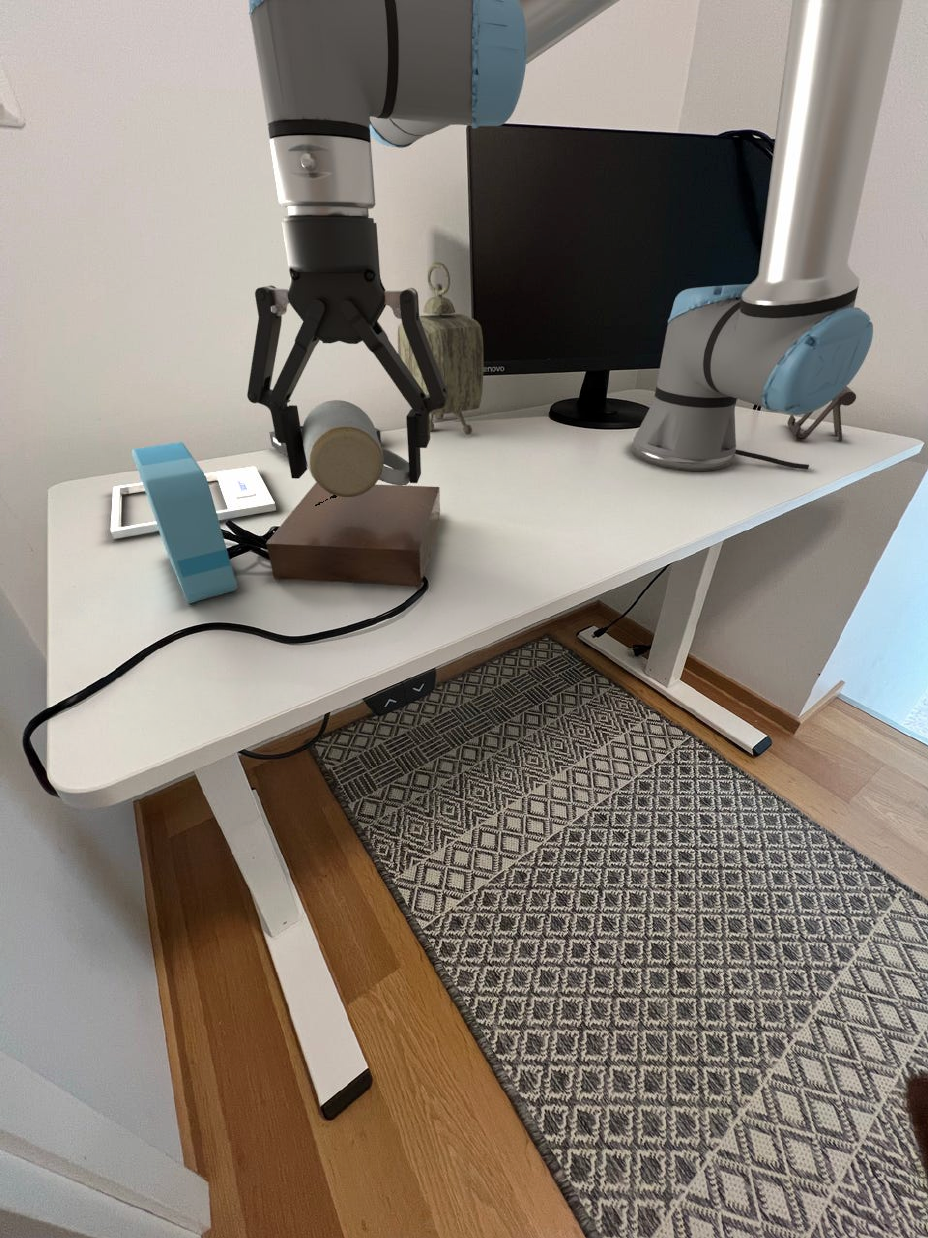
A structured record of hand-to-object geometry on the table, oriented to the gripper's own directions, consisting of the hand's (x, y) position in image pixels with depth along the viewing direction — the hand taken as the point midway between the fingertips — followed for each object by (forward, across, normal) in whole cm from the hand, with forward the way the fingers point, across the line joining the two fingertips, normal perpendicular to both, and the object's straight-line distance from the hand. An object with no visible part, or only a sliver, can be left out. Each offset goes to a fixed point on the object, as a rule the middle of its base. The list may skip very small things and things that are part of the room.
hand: (357, 476), depth 56 cm
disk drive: (+8, -14, +33) cm, 37 cm away
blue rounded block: (+8, -15, -8) cm, 19 cm away
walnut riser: (+8, 0, 0) cm, 8 cm away
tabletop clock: (+8, +3, +45) cm, 46 cm away
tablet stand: (+8, +69, +48) cm, 85 cm away
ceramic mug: (+1, 0, 0) cm, 1 cm away
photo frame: (+8, -25, +10) cm, 28 cm away
